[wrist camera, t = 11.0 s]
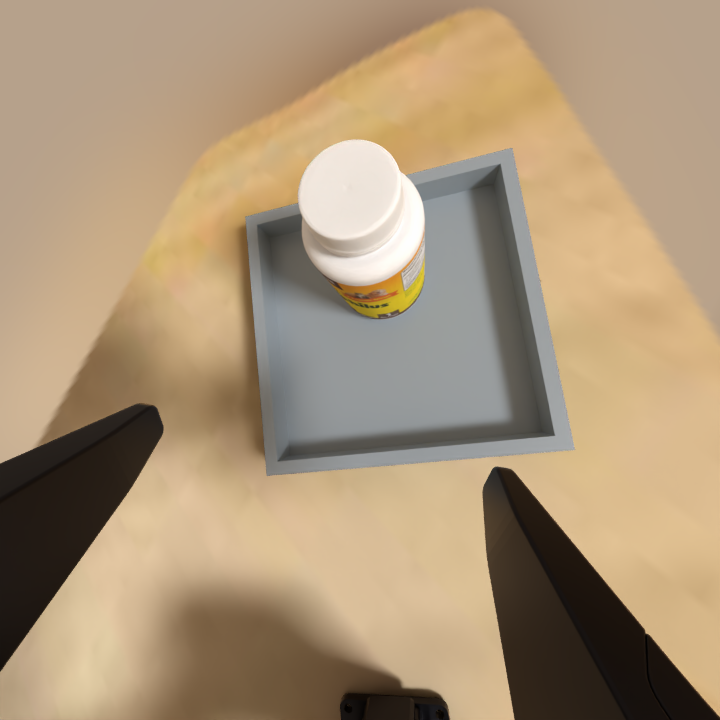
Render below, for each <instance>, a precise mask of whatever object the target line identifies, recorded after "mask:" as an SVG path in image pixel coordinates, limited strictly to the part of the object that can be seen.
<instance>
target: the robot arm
mask: <svg viewBox="0 0 720 720" xmlns="http://www.w3.org/2000/svg"><path fill="white" fill-rule="evenodd" d="M162 434H163V424H162V421H161V418H160V415H159V412H158V409H157V408H156V407H155V406H154V405H149V404H143V403H139V404H135V405H133V406H131V407H129V408H126V409H124V410H122V411H119V412H117V413H115V414H113V415H110V416H108V417H106V418H103V419H101V420H99V421H97V422H94V423H92V424H90V425H87V426H85V427H83V428H81V429H78V430H76V431H74V432H71V433H69V434H67V435H65V436H62V437H60V438H58V439H55V440H53V441H51V442H49V443H46V444H44V445H42V446H39V447H37V448H35V449H33V450H30V451H28V452H26V453H24V454H21V455H19V456H17V457H14V458H12V459H10V460H7V461H5V462H3V463H1V464H0V672H1V670H2V669H3V667H4V666H5V665H6V663H7V662H8V660H9V659H10V658H11V656H12V655H13V653H14V652H15V651H16V649H17V648H18V646H19V645H20V644H21V642H22V641H23V639H24V638H25V637H26V635H27V634H28V632H29V631H30V629H31V628H32V627H33V625H34V624H35V622H36V621H37V620H38V618H39V617H40V615H41V614H42V613H43V611H44V610H45V608H46V607H47V606H48V604H49V603H50V601H51V600H52V599H53V597H54V596H55V594H56V593H57V592H58V590H59V589H60V587H61V586H62V585H63V583H64V582H65V580H66V579H67V578H68V576H69V575H70V573H71V572H72V571H73V569H74V568H75V566H76V565H77V564H78V562H79V561H80V559H81V558H82V557H83V555H84V554H85V552H86V551H87V550H88V548H89V547H90V545H91V544H92V543H93V541H94V540H95V538H96V537H97V536H98V534H99V533H100V531H101V530H102V528H103V527H104V526H105V524H106V523H107V521H108V520H109V519H110V517H111V516H112V514H113V513H114V512H115V510H116V509H117V507H118V506H119V505H120V503H121V502H122V500H123V499H124V498H125V496H126V495H127V493H128V492H129V490H130V489H131V487H132V486H133V484H134V483H135V481H136V479H137V478H138V476H139V474H140V473H141V471H142V469H143V467H144V466H145V464H146V462H147V460H148V459H149V457H150V455H151V454H152V452H153V450H154V448H155V447H156V445H157V443H158V441H159V440H160V438H161V436H162ZM483 509H484V524H485V540H486V553H487V561H488V568H489V574H490V579H491V585H492V591H493V597H494V603H495V608H496V614H497V620H498V626H499V632H500V637H501V643H502V649H503V655H504V661H505V666H506V672H507V678H508V684H509V690H510V695H511V701H512V707H513V713H514V718H515V720H720V717H719V716H718V715H717V714H716V712H715V711H714V710H713V709H712V708H711V707H710V706H709V705H708V703H707V702H706V701H705V700H704V699H703V698H702V697H701V695H700V694H699V693H698V692H697V691H696V690H695V688H694V687H693V686H692V685H691V684H690V683H689V681H688V680H687V679H686V678H685V677H684V676H683V674H682V673H681V672H680V671H679V670H678V668H677V667H676V666H675V665H674V664H673V663H672V661H671V660H670V659H669V658H668V657H667V655H666V654H665V653H664V652H663V651H662V649H661V648H660V647H659V646H658V645H657V643H656V642H655V641H654V640H653V639H652V637H651V636H650V635H649V634H645V629H644V628H643V627H642V626H641V624H640V623H639V622H638V621H637V619H636V618H635V617H634V616H633V615H632V613H631V612H630V611H629V610H628V609H627V607H626V606H625V605H624V604H623V603H622V601H621V600H620V599H619V598H618V597H617V595H616V594H615V593H614V592H613V591H612V589H611V588H610V587H609V586H608V584H607V583H606V582H605V581H604V580H603V578H602V577H601V576H600V575H599V574H598V572H597V571H596V570H595V569H594V568H593V566H592V565H591V564H590V563H589V562H588V560H587V559H586V558H585V557H584V556H583V554H582V553H581V552H580V551H579V549H578V548H577V547H576V546H575V545H574V543H573V542H572V541H571V540H570V539H569V537H568V536H567V535H566V534H565V533H564V531H563V530H562V529H561V528H560V527H559V525H558V524H557V523H556V522H555V521H554V519H553V518H552V517H551V516H550V514H549V513H548V512H547V511H546V510H545V508H544V507H543V506H542V505H541V504H540V502H539V501H538V500H537V499H536V498H535V496H534V495H533V494H532V493H531V492H530V490H529V489H528V488H527V487H526V486H525V484H524V483H523V482H522V481H521V479H520V478H519V477H518V476H517V475H516V473H515V472H514V471H512V470H511V469H508V468H502V467H494V468H493V469H492V471H491V473H490V475H489V477H488V479H487V481H486V482H485V484H484V487H483ZM347 704H350V705H351V707H349V706H347ZM437 710H442V711H443V712H441V713H440V712H438V711H437ZM340 711H341V720H450V716H449V709H448V705H447V704H446V702H445V701H444V700H442V699H439V698H425V697H408V696H390V695H372V694H354V693H347V694H345V695H343V698H342V701H341V704H340Z"/></svg>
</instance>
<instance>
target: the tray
mask: <svg viewBox="0 0 720 720" xmlns="http://www.w3.org/2000/svg"><path fill="white" fill-rule="evenodd" d="M405 176H406V177H408V178H409V179H410V181H411V182H412V183H413V184H414V186H415V187H416V189H417V191H418V193H419V195H420V197H421V200H422V203H423V208H424V215H425V278H424V285H423V289H422V291H421V294H420V296H419V298H418V299H417V301H416V302H415V304H414V305H413V306H412V307H411V308H410V309H409V310H407V311H406V312H405V313H403V314H401V315H399V316H397V317H394V318H391V319H385V320H376V319H371V318H367V317H364V316H362V315H360V314H359V313H357V312H356V311H355V310H354V309H352V308H351V307H350V306H349V304H348V303H347V302H346V301H345V300H344V299H343V298H342V296H341V295H340V294H339V293H338V292H337V291H336V290H335V288H334V287H333V286H332V285H331V284H330V283H329V281H328V280H327V279H326V278H325V277H324V276H323V275H322V273H321V272H320V271H319V270H318V269H317V268H316V266H315V265H314V264H313V263H312V261H311V260H310V258H309V256H308V254H307V252H306V250H305V247H304V244H303V239H302V218H303V217H302V215H301V212H300V209H299V204H298V203H297V204H293V205H289V206H285V207H281V208H277V209H273V210H269V211H266V212H262V213H258V214H254V215H250V216H246V217H245V218H246V230H247V243H248V255H249V267H250V279H251V291H252V303H253V315H254V328H255V340H256V352H257V364H258V376H259V388H260V400H261V412H262V425H263V437H264V449H265V461H266V473H267V476H270V475H282V474H294V473H306V472H318V471H330V470H342V469H353V468H365V467H377V466H389V465H401V464H413V463H425V462H437V461H449V460H461V459H473V458H484V457H496V456H508V455H520V454H532V453H544V452H556V451H568V450H575V448H574V443H573V438H572V434H571V429H570V424H569V419H568V414H567V409H566V405H565V400H564V395H563V390H562V385H561V381H560V376H559V371H558V366H557V361H556V356H555V352H554V347H553V342H552V337H551V332H550V327H549V323H548V318H547V313H546V308H545V303H544V299H543V294H542V289H541V284H540V279H539V274H538V270H537V265H536V260H535V255H534V250H533V245H532V241H531V236H530V231H529V226H528V221H527V217H526V212H525V207H524V202H523V197H522V192H521V188H520V183H519V178H518V173H517V168H516V163H515V159H514V154H513V149H512V148H509V149H506V150H502V151H498V152H494V153H490V154H486V155H482V156H478V157H475V158H471V159H467V160H463V161H459V162H455V163H451V164H447V165H444V166H440V167H436V168H432V169H428V170H424V171H420V172H417V173H413V174H409V175H405Z"/></svg>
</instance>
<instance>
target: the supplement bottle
mask: <svg viewBox="0 0 720 720" xmlns="http://www.w3.org/2000/svg"><path fill="white" fill-rule="evenodd" d="M298 204H299V209H300V212H301V215H302V217H303V218H302V239H303V244H304V247H305V250H306V252H307V254H308V256H309V258H310V260H311V261H312V263H313V264H314V265H315V266H316V268H317V269H318V270H319V271H320V272H321V273H322V275H323V276H324V277H325V278H326V279H327V280H328V281H329V283H330V284H331V285H332V286H333V287H334V288H335V290H336V291H337V292H338V293H339V294H340V295H341V296H342V298H343V299H344V300H345V301H346V302H347V303H348V304H349V306H350V307H351V308H352V309H354V310H355V311H356V312H357V313H359V314H360V315H362V316H364V317H367V318H371V319H376V320H385V319H391V318H394V317H397V316H399V315H401V314H403V313H405V312H406V311H407V310H409V309H410V308H411V307H412V306H413V305H414V304H415V302H416V301H417V299H418V298H419V296H420V294H421V291H422V289H423V285H424V278H425V215H424V208H423V203H422V200H421V197H420V195H419V193H418V191H417V189H416V187H415V186H414V184H413V183H412V182H411V181H410V179H409V178H408V177H406V176H405V175H404V174H403V173H402V172H400V171H399V168H398V165H397V163H396V161H395V160H394V158H393V157H392V156H391V154H390V153H389V152H388V151H387V150H385V149H384V148H383V147H381V146H379V145H378V144H376V143H373V142H370V141H366V140H357V139H356V140H347V141H342V142H339V143H336V144H334V145H331V146H330V147H328V148H326V149H325V150H323V151H322V152H320V153H319V154H318V155H317V156H316V157H315V158H314V159H313V160H312V161H311V162H310V164H309V165H308V166H307V168H306V170H305V172H304V174H303V175H302V178H301V181H300V184H299V189H298Z"/></svg>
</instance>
